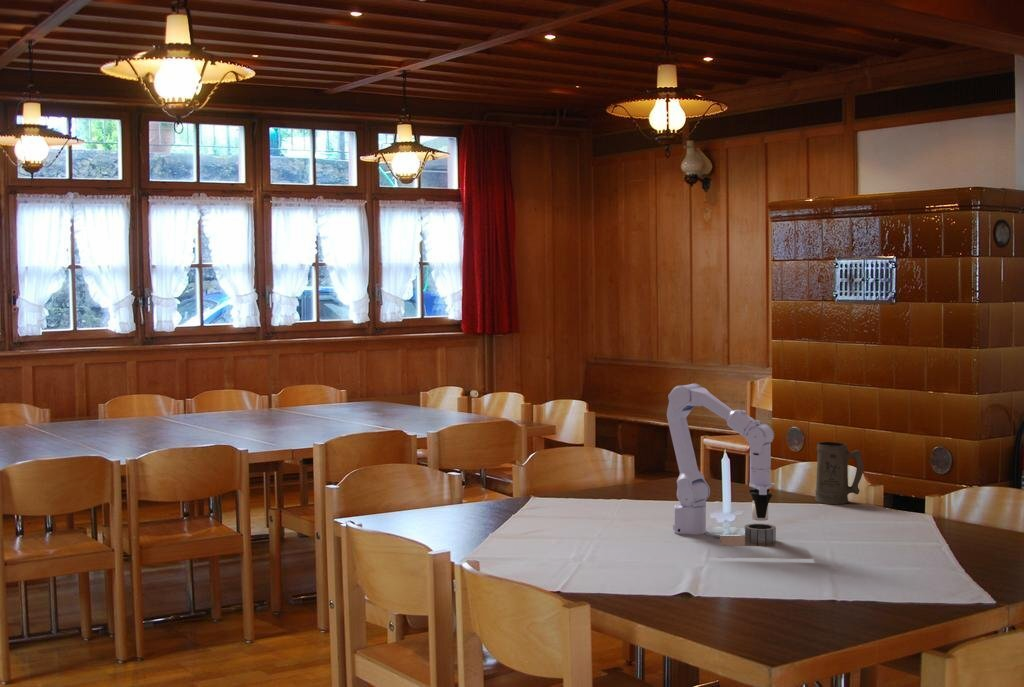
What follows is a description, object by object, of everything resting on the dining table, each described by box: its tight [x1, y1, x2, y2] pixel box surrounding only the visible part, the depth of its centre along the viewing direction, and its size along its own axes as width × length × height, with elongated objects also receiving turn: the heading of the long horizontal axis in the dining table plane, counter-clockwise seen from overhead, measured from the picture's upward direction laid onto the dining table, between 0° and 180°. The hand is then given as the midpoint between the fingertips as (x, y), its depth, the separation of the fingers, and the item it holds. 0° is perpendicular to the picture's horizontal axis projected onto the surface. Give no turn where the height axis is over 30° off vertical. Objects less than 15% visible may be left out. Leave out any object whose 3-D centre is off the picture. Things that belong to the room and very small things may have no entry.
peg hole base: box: [718, 523, 778, 547], centre depth 327 cm, size 15×13×5 cm
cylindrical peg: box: [751, 500, 769, 522], centre depth 326 cm, size 4×4×5 cm
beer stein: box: [814, 441, 864, 505], centre depth 388 cm, size 15×11×20 cm
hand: (760, 515), depth 327 cm, fingers closed on cylindrical peg, 4 cm apart
